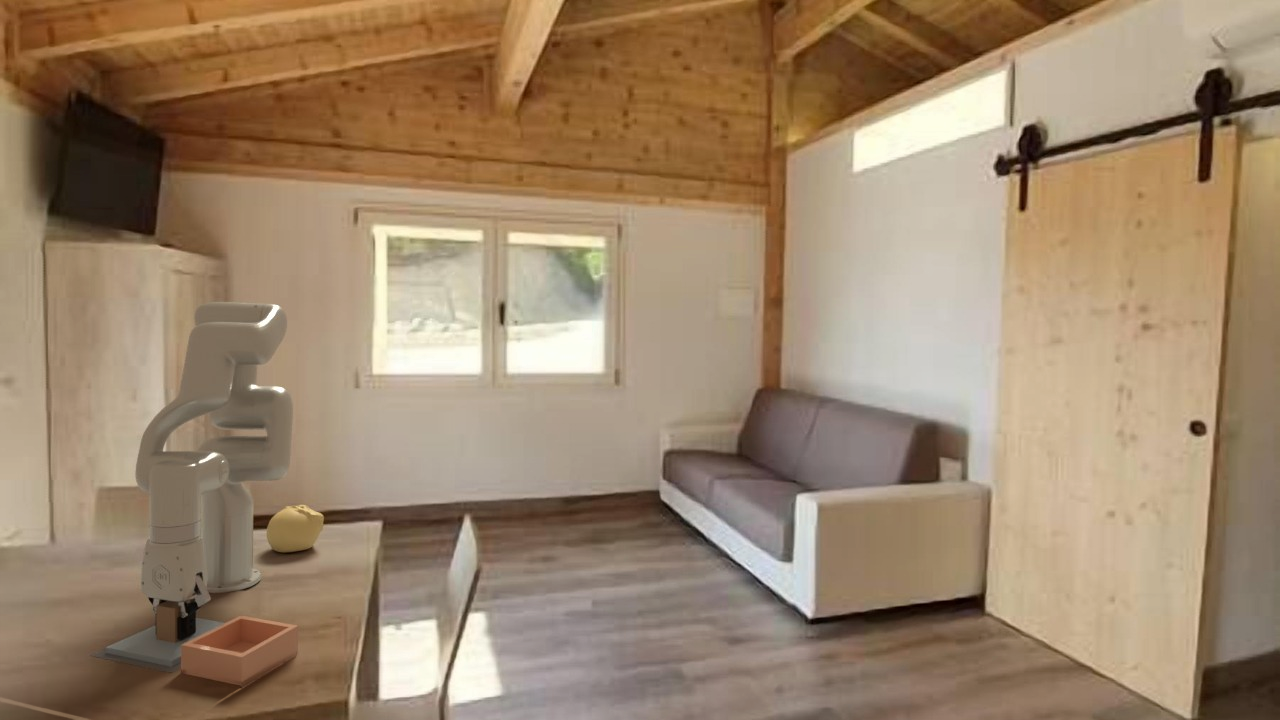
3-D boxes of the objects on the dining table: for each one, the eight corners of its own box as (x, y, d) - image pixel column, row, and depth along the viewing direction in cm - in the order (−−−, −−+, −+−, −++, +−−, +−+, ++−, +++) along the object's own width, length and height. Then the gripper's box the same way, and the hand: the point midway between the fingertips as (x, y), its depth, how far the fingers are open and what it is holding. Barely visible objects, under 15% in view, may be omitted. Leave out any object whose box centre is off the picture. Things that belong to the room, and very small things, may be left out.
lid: (105, 652, 120) (105, 612, 120) (179, 619, 134) (179, 583, 133) (171, 666, 117) (171, 625, 116) (240, 631, 130) (240, 593, 130)
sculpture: (330, 546, 179) (331, 503, 178) (289, 560, 168) (290, 515, 167) (298, 538, 184) (298, 497, 183) (256, 551, 173) (256, 508, 172)
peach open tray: (181, 675, 115) (181, 644, 115) (240, 642, 126) (240, 615, 126) (242, 688, 112) (242, 657, 111) (297, 653, 123) (297, 625, 123)
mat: (90, 657, 119) (90, 655, 119) (180, 617, 136) (180, 615, 136) (170, 675, 115) (170, 672, 115) (253, 631, 131) (253, 629, 131)
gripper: (117, 532, 122) (118, 636, 124) (195, 544, 118) (195, 651, 119) (157, 520, 130) (157, 618, 131) (232, 531, 125) (232, 632, 127)
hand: (175, 633), depth 125 cm, fingers closed on lid, 4 cm apart
